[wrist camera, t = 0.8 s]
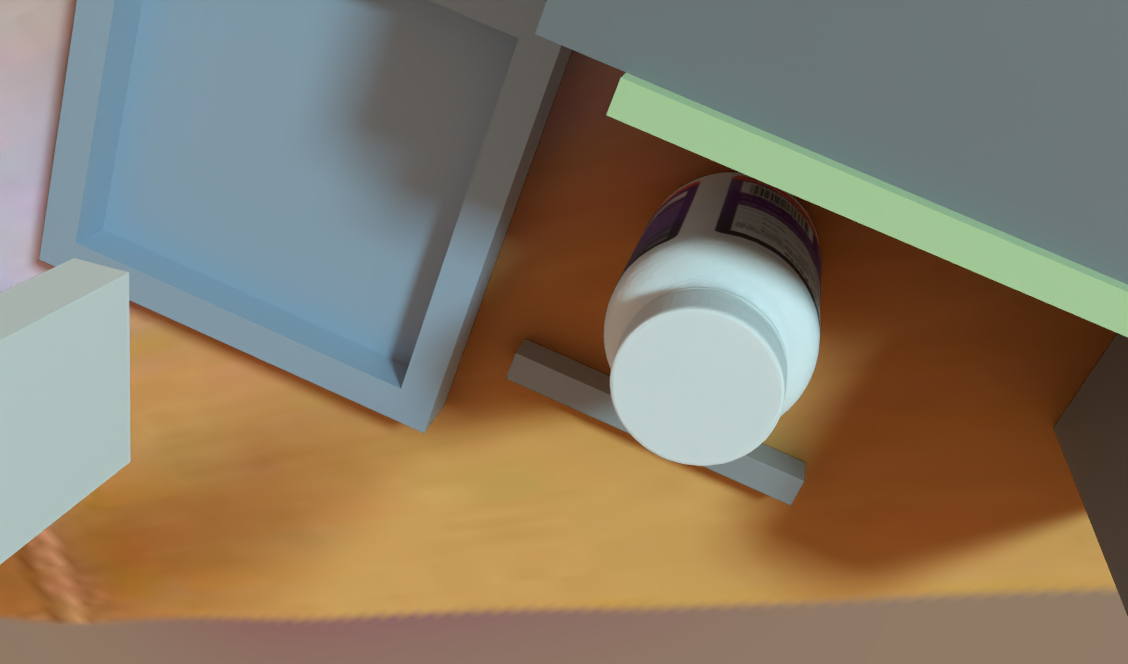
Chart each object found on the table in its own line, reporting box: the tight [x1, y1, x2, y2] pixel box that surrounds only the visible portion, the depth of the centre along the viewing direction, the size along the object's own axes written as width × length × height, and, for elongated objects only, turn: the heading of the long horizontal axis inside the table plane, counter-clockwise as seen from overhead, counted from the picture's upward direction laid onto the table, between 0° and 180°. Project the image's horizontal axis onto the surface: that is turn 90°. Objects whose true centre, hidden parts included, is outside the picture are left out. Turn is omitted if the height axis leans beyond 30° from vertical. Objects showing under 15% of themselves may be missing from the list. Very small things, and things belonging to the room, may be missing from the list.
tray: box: [39, 0, 572, 433], centre depth 34 cm, size 14×14×2 cm
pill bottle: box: [604, 172, 821, 466], centre depth 29 cm, size 5×5×10 cm
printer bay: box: [506, 0, 1128, 615], centre depth 27 cm, size 21×18×11 cm
